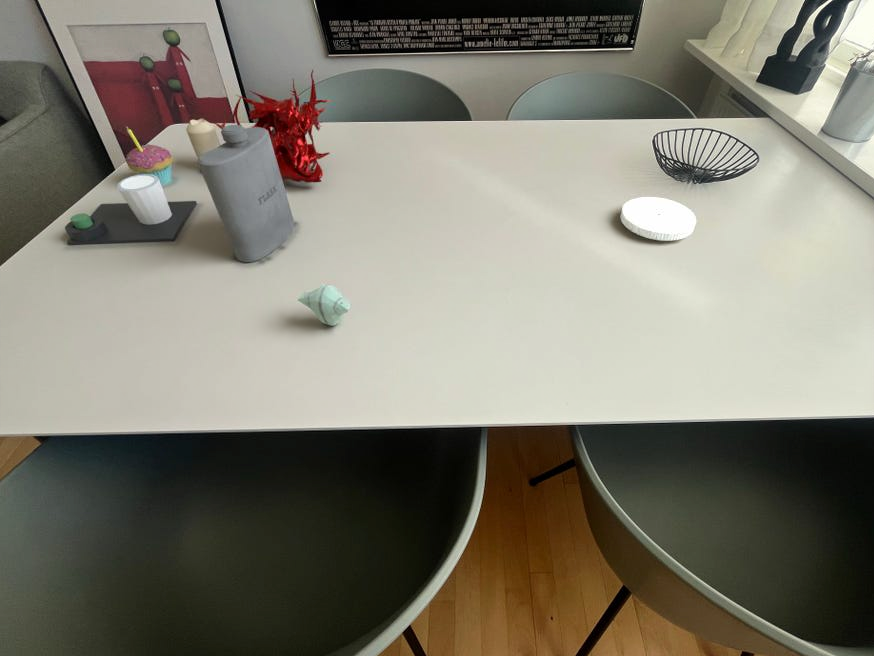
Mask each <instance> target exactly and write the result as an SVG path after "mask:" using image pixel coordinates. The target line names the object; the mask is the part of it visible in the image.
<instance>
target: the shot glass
mask: <svg viewBox="0 0 874 656" xmlns="http://www.w3.org/2000/svg"><path fill="white" fill-rule="evenodd" d="M116 188H117V190H118V192H119V193H120V195H121V196H122V197H123V199H124V201H125V203H128V205H129V206H130V208H131V209H132V211H133V212H134V214H135V215H136V217H137V218H138V220H139V221H140V222H141V223H143V224H148V225H150V224H157V223H161V222H164V221H166V220H168V219H169V218H170V217H171V215H172V213H171V211H170V208H169V205H168V202H169V201H168V200H167V198H166V194H165V192H164V189H163V187H162V185H161V183H160V181H159V178H158V177H157V176H155V175H150V174H141V175H139V174H136V175H135V174H134V175H131V176H128V177H126V178H123V179H122V180H120V181H119V182H118V183H117V185H116Z"/></svg>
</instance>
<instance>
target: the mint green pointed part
mask: <svg viewBox="0 0 874 656" xmlns="http://www.w3.org/2000/svg"><path fill="white" fill-rule="evenodd" d="M296 299H297V301H298V302H300V303H301V304H303V305H304V306H306V307H307V308H309V309H310V311H312V312H313V313H314V314H315V316H316V317H317V319H318V320H319V321H320V322H321V323H323V324H326V325H327V326H336V325H338V324H339V323H340V322H341V321H342V319H343V317H344V315H345V314H346V313H348V311H349V309H350V307H351V303H350V300H348V299H346V298H344V296H343V295H342V294H341V293H340V290H338V289H337V288H336V287H335V286H333V285H330V284H321V285H320V286H318V287H316V288H315V289H313V290H311V291H310V292H305V291H304V292H303V293H302V294H301V295H300V296H299V297H298V298H296Z"/></svg>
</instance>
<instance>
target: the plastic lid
mask: <svg viewBox="0 0 874 656" xmlns="http://www.w3.org/2000/svg"><path fill="white" fill-rule="evenodd" d="M620 221H621V223H622V224H623V226H624V227H625V228H627V229H628V230H629V231H630V232H632V233H634V234H636V235H637V236H640V237H643V238H646V239H649V240H653V241H654V240H656V241H667V242H669V241H670V242H672V241H678V240H682V239H686V238H688V237H689V236H690V235H691V234H692V233H693V231H694V230H695V227H696V224H697V217H696V215H695V213H694V212H693V211H692V210H691V209H690V208H688V207H687V206H685V205H683V204H681V203H679V202H678V201H675V200H672V199H668V198H663V197H656V196H654V197H653V196H642V197H636V198H632V199H630V200H628V201H626V202H625V203H624V204H623V206H622V208H621V212H620Z"/></svg>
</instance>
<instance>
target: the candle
mask: <svg viewBox="0 0 874 656" xmlns="http://www.w3.org/2000/svg"><path fill="white" fill-rule="evenodd" d="M185 131H186V134H187V135H188V138H189V141H190V143H191V146H192V149H193V151H194V153H195V155H196V158H197V159H198V158H199V157H200V156H201V155H202V154H204V153H206V152H208V151H210V150H213V149H215V148H217V147H219V146H220V145H222V143H221V142H220V138H219V136H218V133H217V131H216V128H215V124H213V123H211V122H209V121H207V120H205V119H204V118H200V119H197V120H196V119H191V120H189V122H188V125H187V127H186V128H185Z"/></svg>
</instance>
